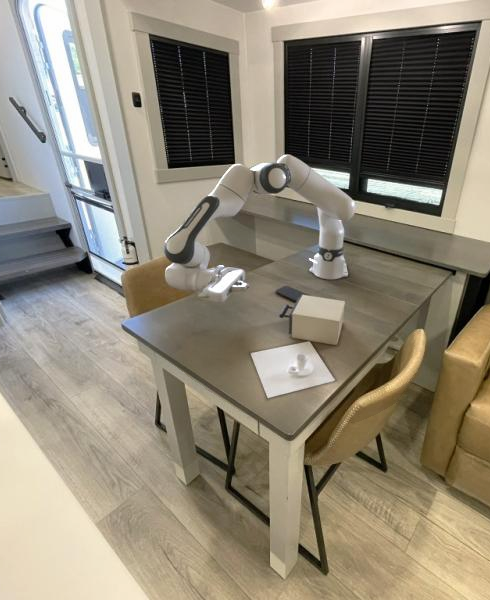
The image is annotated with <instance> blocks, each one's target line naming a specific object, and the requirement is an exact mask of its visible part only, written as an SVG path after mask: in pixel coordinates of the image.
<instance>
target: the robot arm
mask: <svg viewBox="0 0 490 600" xmlns="http://www.w3.org/2000/svg"><path fill="white" fill-rule="evenodd" d="M287 187H288V188H289V189H291V190H292V191H293V192H295V193H297V194H298V195H300V196H301V197H302V198H303V199H305V200H306V201H308V202H309V203H311V204H312V205H314V206H315V207H316V209H317V215H318V223H319V238H318V244H317V253H316V254H315V255H314V256H313V259H312V258H309V259H308V260H309V261H311V262H313V265H312V266H311V267H310V268H309V272H310V273H312V274H314V276H316V277H318V278H320V279H324V280H338V279H341V278H347V277H348V276H349V272H348V267H347V263H346V258H345V257H344V251H345V250H344V240H345V239H344V238H345V228H344V225H343V222H346V221H349V220H351V219H352V218H353V217H354V215H355V213H356V210H357V206H356V202H355V201H354V199H352V197H351V196H349V195H348V194H347V193H346V192H344V191H343V190H342V189H340V188H339V187H338V186H336V185H335V184H333V183H332V182H330V181H329V180H328V179H326V178H325V177H323V176H322V175H321V174H319V173H318V172H317V171H316V170H314V169H313V168H312V167H311V166H309V165H308V164H306V163H305V162H304V161H302V160H301V159H299V158H298V157H295V156H294V155H292V154H287V153H286V154H283V155H282V156H281V157H280V158H278V160H277V161H276V162H263V163H260V164H257V165H253V166H251V167H248V166H247V165H244V164H242V163H234V164H233V165H231V167H229V168H228V170H227V171H226V172H225V173H224V174H223V176H222V177H221V178H220V179H219V181H218V182H217V184H216V186H215V187H214V189H213V190H212V192H210V193H209V194H208V195H207V196H205V197H204V198H202V199H201V200H200V201H199V202H198V203H197V204H196V206H195V207H194V208H193V210H192V211H191V212H190V214H189V215H188V216H187V217H186V219H185V220H184V221H183V223H182V224H181V225H180V226H179V228H178V229H177V230H175V231H174V232H172V233H171V234H170V235H169V236H168V237H167V239H166V240H165V241H164V245H163V252H164V255H165V257H166V259H167V260H168V261H169V262H171V264H170V265H169V266H167V267H166V268H165V271H164V279H165V282H166V283H167V285H168V286H169V287H171V288H173V289H175V290H179V291H183V292H196V293H197V296H198V298H201V299H202V298H203V299H204V300H206V301H209V302H212V303H215V304H220V303H221V304H223V303H224V302H225V301H226V300H227V299H228V298H229V297H230V296H231V295H232V294H233V293H240V292H247V290H249V288H250V284H249V283H247V282H245V280H246V271H245V270H244V269H242V268H237V267H229V266H226V267H225V265H217V266H214V267H210V268H208V267H209V264H210V260H211V252H210V249H209V248H208V247H207V246H206V245H204V244H203V243H200V242H199V241H197V240H198V238H199V236H200V235H201V234H202V233H203V231H204V230H205V229H206V227H207V226H208V224H209V223H210V222H211V221H212V220H214V219H217V218H232V217H235V216H236V215H237V214H238V213H239V212H240V211H241V209H242V208H243V206H244V205H245V203H246V202H247V199H248V198H249V196H250V195H251V193H254V194H259V195H276V194H279V193H281V192H282V191H284V190H285V189H286V188H287Z"/></svg>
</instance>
